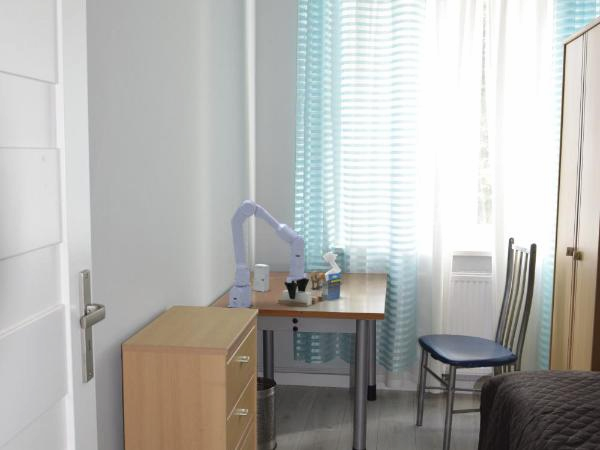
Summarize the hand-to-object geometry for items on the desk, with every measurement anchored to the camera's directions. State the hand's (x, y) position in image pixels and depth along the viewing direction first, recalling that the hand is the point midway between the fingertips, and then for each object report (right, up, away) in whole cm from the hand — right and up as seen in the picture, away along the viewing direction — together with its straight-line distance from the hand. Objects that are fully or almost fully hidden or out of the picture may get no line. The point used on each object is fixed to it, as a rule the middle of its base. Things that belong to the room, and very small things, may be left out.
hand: (296, 297), depth 301 cm
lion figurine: (+10, 0, +43) cm, 45 cm away
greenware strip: (0, -3, 0) cm, 3 cm away
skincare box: (-17, 0, +34) cm, 38 cm away
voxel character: (+17, +1, +56) cm, 58 cm away
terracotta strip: (+4, -2, +7) cm, 8 cm away
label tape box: (+15, -3, +12) cm, 19 cm away
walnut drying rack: (+2, -3, +4) cm, 5 cm away
